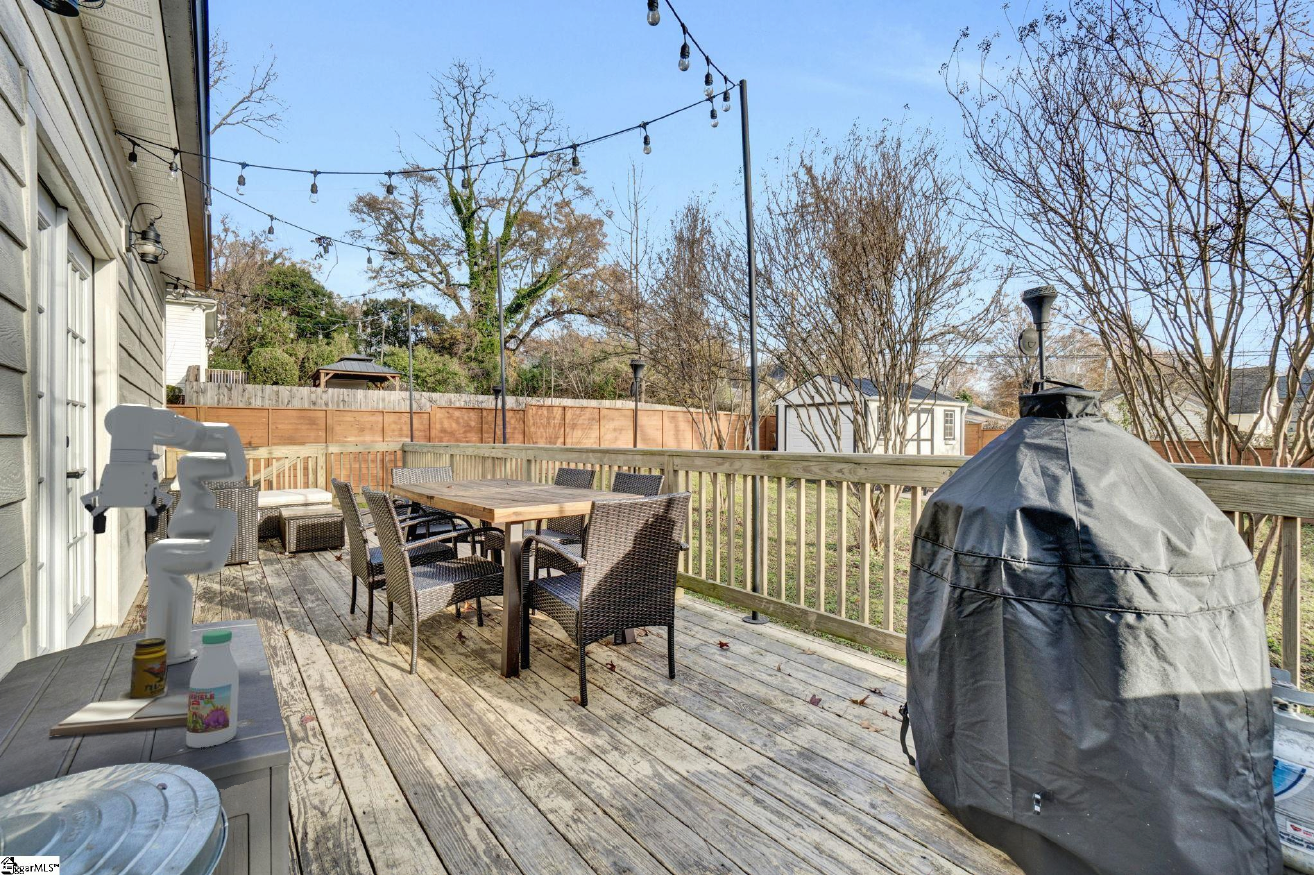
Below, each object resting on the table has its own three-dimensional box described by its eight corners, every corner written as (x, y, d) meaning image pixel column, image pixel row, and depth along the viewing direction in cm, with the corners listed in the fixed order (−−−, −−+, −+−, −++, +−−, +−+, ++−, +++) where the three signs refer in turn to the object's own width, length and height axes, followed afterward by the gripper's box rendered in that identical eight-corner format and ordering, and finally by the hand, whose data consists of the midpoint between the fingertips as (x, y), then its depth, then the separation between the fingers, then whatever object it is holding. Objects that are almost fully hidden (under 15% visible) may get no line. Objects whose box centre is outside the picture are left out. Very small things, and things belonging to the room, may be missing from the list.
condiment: (164, 697, 137) (168, 642, 138) (114, 704, 133) (118, 647, 133) (168, 687, 143) (171, 634, 144) (120, 693, 139) (123, 639, 139)
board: (91, 709, 130) (92, 700, 130) (224, 698, 137) (225, 690, 137) (49, 737, 116) (50, 727, 116) (199, 723, 124) (199, 714, 124)
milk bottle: (202, 731, 120) (208, 627, 121) (244, 731, 121) (250, 627, 122) (175, 749, 112) (182, 637, 113) (220, 748, 113) (226, 637, 114)
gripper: (182, 459, 148) (177, 531, 147) (94, 457, 143) (88, 532, 142) (169, 458, 141) (163, 534, 140) (75, 456, 136) (68, 535, 135)
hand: (125, 533), depth 141 cm, fingers open, 9 cm apart
